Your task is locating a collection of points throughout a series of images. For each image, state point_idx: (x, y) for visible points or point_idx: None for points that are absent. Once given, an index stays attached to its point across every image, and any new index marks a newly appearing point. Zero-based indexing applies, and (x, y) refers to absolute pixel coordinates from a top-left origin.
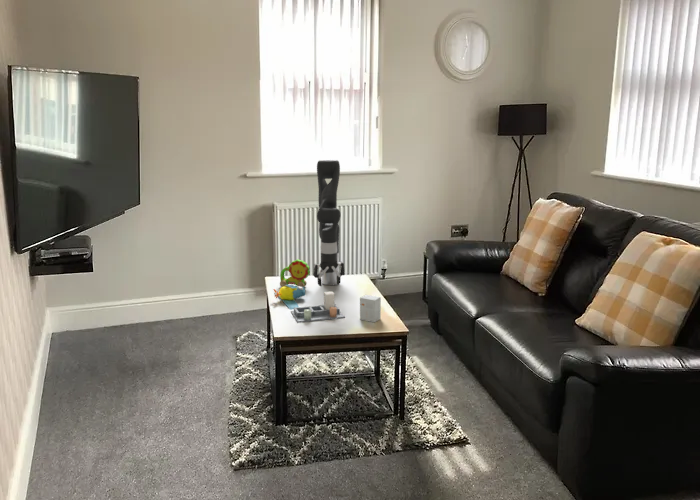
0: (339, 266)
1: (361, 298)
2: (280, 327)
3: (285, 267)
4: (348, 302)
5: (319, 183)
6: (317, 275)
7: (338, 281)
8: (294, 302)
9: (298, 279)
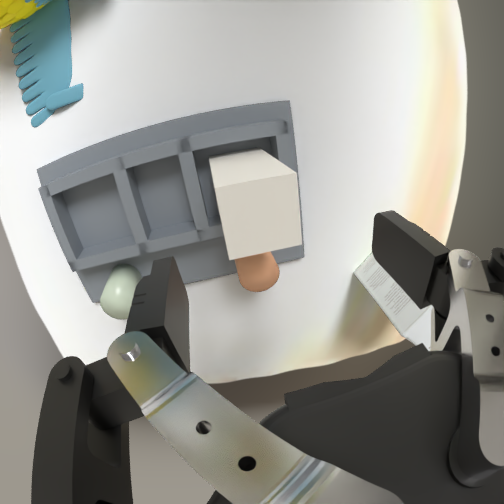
0: None
1: (404, 336)
2: (55, 332)
3: None
4: (362, 37)
5: None
6: (127, 417)
7: (396, 276)
8: (58, 21)
9: None
